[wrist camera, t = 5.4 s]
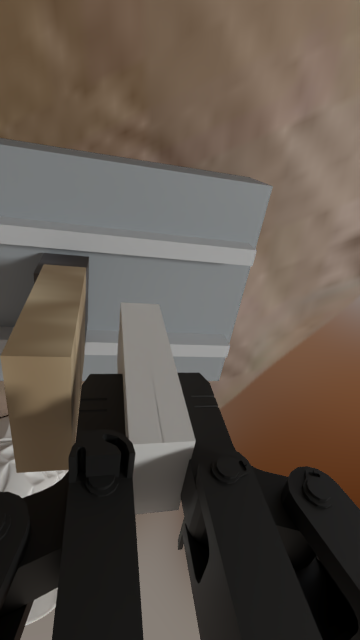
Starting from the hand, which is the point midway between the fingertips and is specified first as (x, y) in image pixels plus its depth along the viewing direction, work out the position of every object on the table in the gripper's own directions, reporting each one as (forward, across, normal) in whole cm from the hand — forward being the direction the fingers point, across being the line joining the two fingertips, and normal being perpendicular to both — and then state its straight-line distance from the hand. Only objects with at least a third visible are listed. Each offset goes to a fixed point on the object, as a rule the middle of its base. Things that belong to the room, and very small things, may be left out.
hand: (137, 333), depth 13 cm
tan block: (+4, -3, 0) cm, 5 cm away
